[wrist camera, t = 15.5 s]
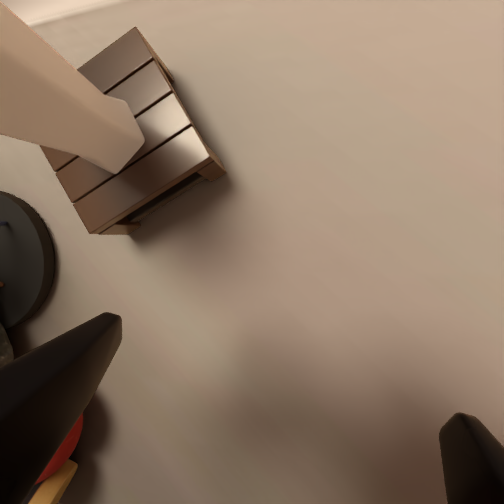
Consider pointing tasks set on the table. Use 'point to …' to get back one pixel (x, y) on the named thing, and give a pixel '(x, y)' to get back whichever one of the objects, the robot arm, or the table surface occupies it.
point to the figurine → (22, 261)
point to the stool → (149, 154)
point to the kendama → (57, 471)
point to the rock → (5, 348)
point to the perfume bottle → (59, 102)
